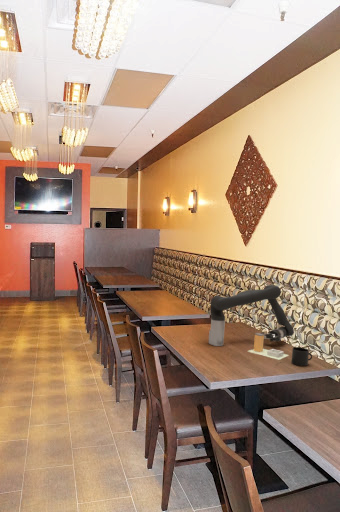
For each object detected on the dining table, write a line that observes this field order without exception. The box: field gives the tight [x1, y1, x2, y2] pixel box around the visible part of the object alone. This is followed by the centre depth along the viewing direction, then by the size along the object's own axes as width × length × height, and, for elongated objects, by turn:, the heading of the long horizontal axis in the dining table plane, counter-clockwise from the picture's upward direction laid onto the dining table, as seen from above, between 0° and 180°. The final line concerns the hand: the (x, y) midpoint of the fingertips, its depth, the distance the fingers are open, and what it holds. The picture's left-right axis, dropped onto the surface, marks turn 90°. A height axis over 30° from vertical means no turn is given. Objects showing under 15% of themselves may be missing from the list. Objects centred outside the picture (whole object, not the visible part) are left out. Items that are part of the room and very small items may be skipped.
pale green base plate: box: [247, 348, 289, 361], centre depth 268 cm, size 22×14×4 cm, turn 50°
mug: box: [291, 346, 313, 367], centre depth 255 cm, size 9×12×9 cm
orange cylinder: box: [253, 332, 264, 352], centre depth 272 cm, size 4×4×11 cm
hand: (265, 338), depth 279 cm, fingers open, 8 cm apart
